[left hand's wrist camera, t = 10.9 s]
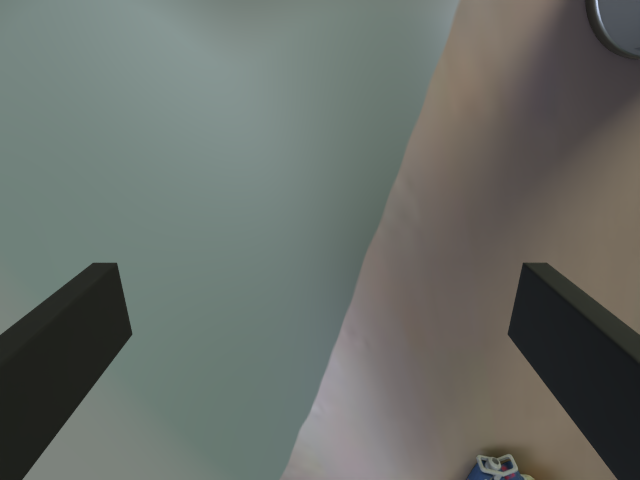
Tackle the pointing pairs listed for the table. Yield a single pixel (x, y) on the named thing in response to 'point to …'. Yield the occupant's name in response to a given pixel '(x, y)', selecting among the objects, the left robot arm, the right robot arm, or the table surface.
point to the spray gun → (496, 469)
